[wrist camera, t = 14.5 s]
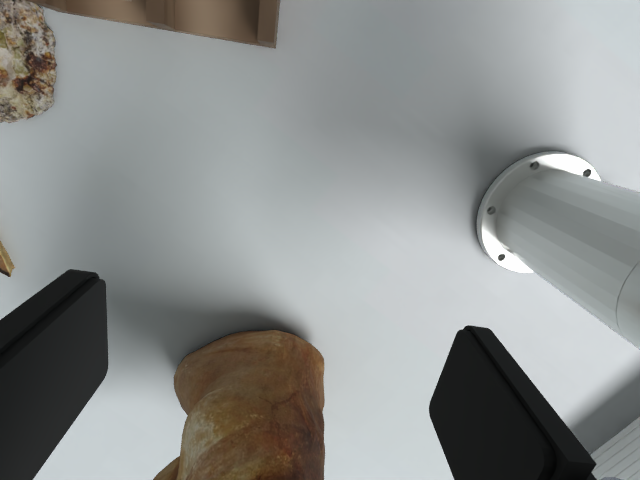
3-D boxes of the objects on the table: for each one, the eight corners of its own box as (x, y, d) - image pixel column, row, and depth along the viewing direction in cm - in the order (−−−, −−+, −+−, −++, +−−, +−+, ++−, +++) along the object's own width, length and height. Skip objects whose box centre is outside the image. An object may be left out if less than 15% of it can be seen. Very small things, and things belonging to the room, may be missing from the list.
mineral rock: (27, 152, 30) (-107, 93, 25) (44, 139, 33) (-72, 85, 29) (82, 30, 27) (-58, -58, 23) (93, 30, 31) (-26, -46, 26)
